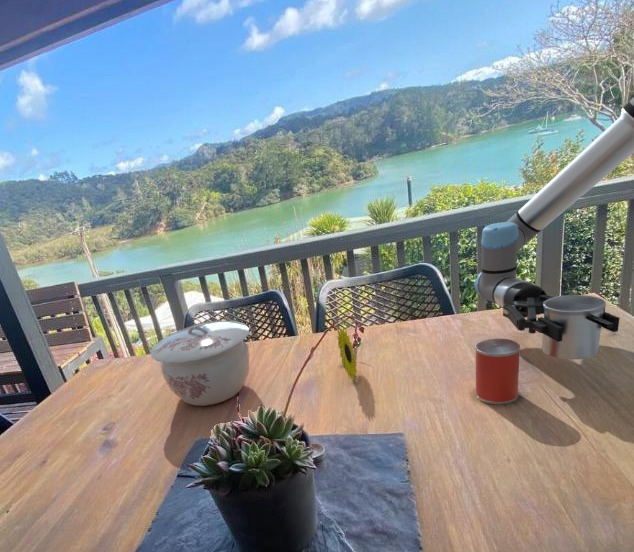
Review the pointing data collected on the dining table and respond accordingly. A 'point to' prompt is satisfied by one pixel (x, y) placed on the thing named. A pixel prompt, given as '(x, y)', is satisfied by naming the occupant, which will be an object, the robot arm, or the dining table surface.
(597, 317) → the steel pot
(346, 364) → the decorative plant
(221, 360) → the chamber pot
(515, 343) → the tin can
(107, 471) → the dining table surface
